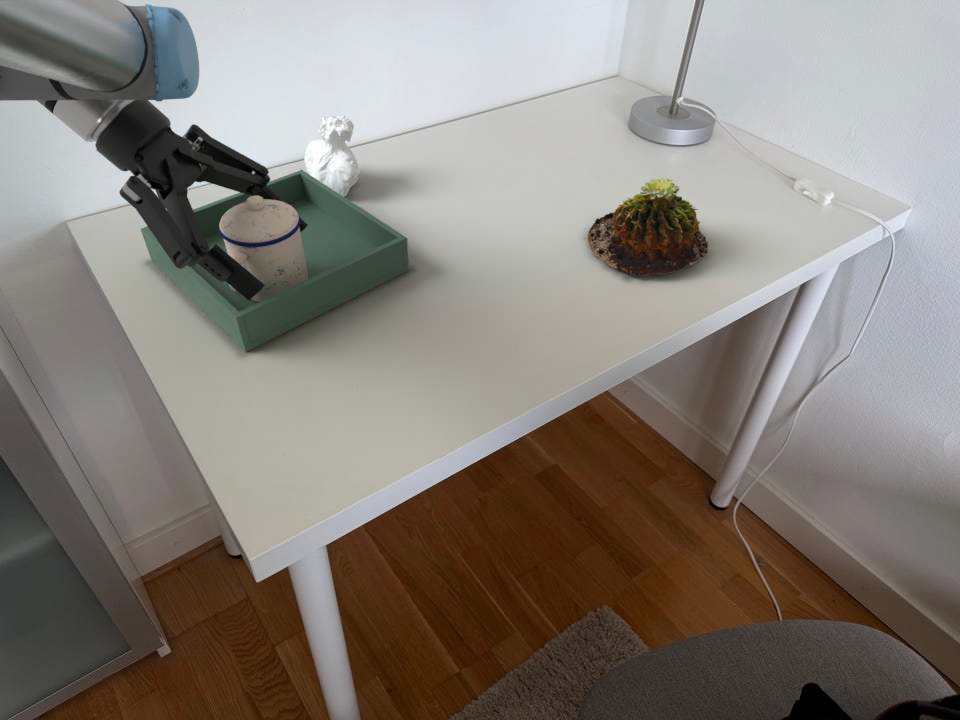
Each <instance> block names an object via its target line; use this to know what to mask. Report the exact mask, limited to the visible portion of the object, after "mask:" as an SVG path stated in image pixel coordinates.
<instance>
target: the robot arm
mask: <svg viewBox="0 0 960 720" xmlns="http://www.w3.org/2000/svg"><path fill="white" fill-rule="evenodd" d="M198 51H199V50H198V46H197V41H196V38H195V34H194V31H193V29H192V26H191V24H190V22H189V20H188V18H187V17H186V16H185V15H184V14H183V13H182V12H181V11H180V10H179V9H177V8H176V7H175V8H174V7H169V6H156V5H155V6H154V5H152V4H150V3H145V4H144V5H129V4H125V3H124V2H122V1H120V0H0V101H1V102H2V101H37V102H38V103H39V104H40V105H42V106H43V107H44V108H45V109H46V110H47V111H49V112H50V113H51V114H52V115H53V116H55V117H56V118H57V119H59V120H60V121H61V122H62V123H63V124H64V125H66V126H67V127H68V128H69V129H70V130H72V131H73V132H74V133H75V134H77V135H78V136H79V137H80V138H81V139H82V140H84V141H85V142H86V143H93V142H95V149H96V151H97V152H98V153H99V154H100V155H101V156H102V157H103V158H104V159H106V160H107V161H108V162H110V163H111V164H112V165H113V166H115V167H116V168H117V169H118V170H120V171H121V172H130V173H131V174H132V175H131V176H129V178H128V179H127V180H126V182H125V183H123V185H122V187H121V189H119V190H118V191H119V195H120V197H121V198H122V199H124V200H125V201H126V202H127V203H128V204H130V206H132V207H133V209H135V210H136V212H137V213H138V215H139V216H140V217H141V219H142V220H143V222H144V223H145V225H146V227H147V226H148V227H149V229H150V230H151V232H152V233H153V235H154V236H155V238H156V239H157V240H158V242H159V243H160V245H161V246H162V248H163V249H164V251H165V252H166V253H167V255H168V256H169V258H170V259H171V261H172V262H173V264H174V265H175V266H176V267H177V268H179V269H183V268H184V267H185V266H189V267H194V266H195V265H196V264H199V265H200V266H201V267H203V268H204V269H205V270H206V271H207V272H209V273H210V274H211V275H212V276H214V277H215V278H216V279H217V280H219V281H221V282H224V281H226V282H227V283H228V284H229V285H231V286H232V287H233V288H234V289H236V290H237V291H238V292H239V293H240V294H242V295H243V296H244V297H245V298H247V299H248V300H250V299H251V298H252V297H254V296H255V295H256V294H257V293H258V292H259V291H260V290H261V289H262V288H263V287H264V284H263V283H262V282H261V281H259V280H258V279H257V278H256V277H255V276H253V275H252V274H251V273H250V272H249V271H247V270H246V269H245V268H244V267H243V266H241V265H240V264H239V263H238V262H237V261H235V260H234V259H233V258H232V257H231V256H229V255H228V254H227V253H226V252H225V251H223V250H222V249H221V248H220V247H219V246H217V245H216V244H215V245H214V247H213V248H212V249H211V250H210V251H209V246H208V243H207V241H206V239H205V237H204V234H203V232H202V230H201V227H200V225H199V223H198V220H197V218H196V216H195V214H194V211H193V209H194V208H193V207H192V204H191V202H190V199H189V198H188V193H189V191H188V189H189V188H190V187H192V186H193V184H195V183H203V182H206V183H208V184H211V185H215V186H218V187H222V188H225V189H228V190H232V191H234V192H238V193H240V192H241V193H244V194H247V195H250V196H261V197H262V198H263V199H271V200H278V201H282V202H284V200H283V199H281V198H280V197H279V196H278V195H277V194H276V193H275V192H274V191H273V190H272V189H270V188H269V187H268V186H267V184H268V182H270V181H271V177H270V176H269V173H270V171H269V169H268V168H267V167H266V166H265V165H263V164H261V163H259V162H257V161H255V160H254V159H251V158H250V157H248V156H247V155H244V154H242V153H241V152H239V151H237V150H235V149H233V148H232V147H230V146H228V145H226V144H224V143H222V142H220V141H219V140H217V139H216V138H214V137H212V136H210V135H209V133H207V132H206V131H205V130H203V129H202V128H201V127H200V126H199V125H197V124H194V123H193V124H191V125H190V126H189V128H188V129H187V130H186V131H185V132H184V134H183V135H179V134H177V133H176V132H174V131H173V129H172V127H171V124H172V123H171V122H172V121H171V120H170V118H169V117H168V116H166V115H165V114H164V113H163V112H162V111H161V110H160V109H159V108H157V107H156V106H155V105H154V104H153V103H152V102H151V101H156V102H163V101H165V100H166V101H167V100H184V99H185V100H186V99H188V98H191V97H192V96H193V95H194V94H195V92H196V91H197V89H198V86H199V81H200V59H199V52H198ZM253 172H254V173H253ZM153 190H154V191H155V192H156V193H155V192H154V191H153ZM300 221H301V222H300V226H299V227H300V232H302V231H303V230H304V229H305V228H306V227H307V225H308V224H306V223H305V222H304V221H303V220H302V219H301V218H300Z"/></svg>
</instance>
